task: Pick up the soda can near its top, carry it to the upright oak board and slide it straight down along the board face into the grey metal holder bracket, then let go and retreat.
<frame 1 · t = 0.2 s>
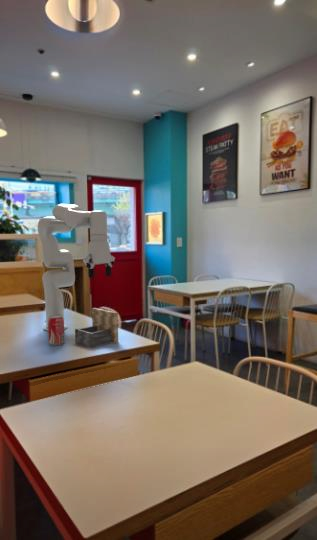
hand: (100, 276, 170), 31 cm above the table, tool pointing down, fingers open, 9 cm apart
soda can: (56, 344, 174), on the table
wall board: (105, 339, 181), on the table
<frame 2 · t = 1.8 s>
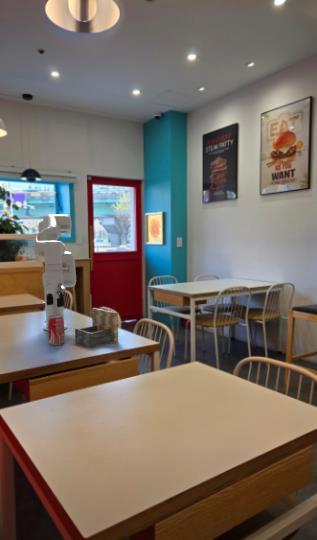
hand: (55, 305, 172), 18 cm above the table, tool pointing down, fingers open, 9 cm apart
nothing on the table moved.
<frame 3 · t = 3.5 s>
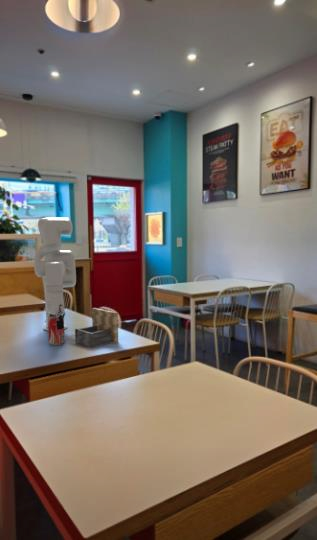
hand: (56, 327, 174), 8 cm above the table, tool pointing down, fingers closed on soda can, 6 cm apart
soda can: (56, 344, 174), on the table, touching gripper
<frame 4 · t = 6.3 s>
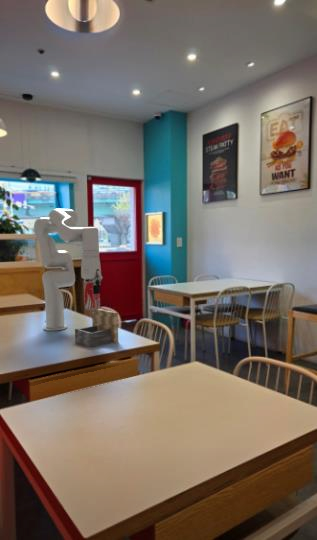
hand: (92, 292, 174), 23 cm above the table, tool pointing down, fingers closed on soda can, 6 cm apart
soda can: (92, 309, 175), point 15 cm above the table, touching gripper
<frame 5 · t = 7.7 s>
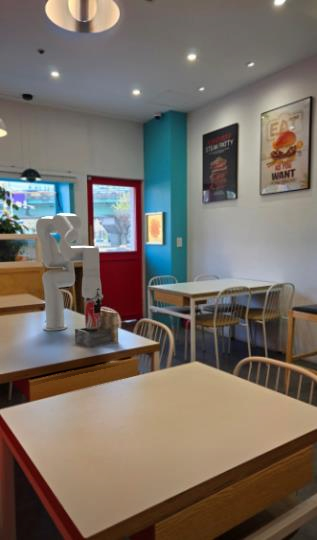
hand: (92, 311, 175), 14 cm above the table, tool pointing down, fingers closed on soda can, 6 cm apart
soda can: (93, 328, 176), point 6 cm above the table, touching gripper
when the fingers open (13 cm above the table, at t = 9.1 s): soda can drops 1 cm, resting on wall board.
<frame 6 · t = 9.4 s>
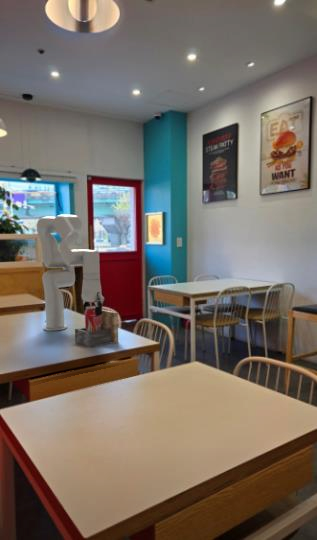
hand: (92, 313, 175), 13 cm above the table, tool pointing down, fingers open, 9 cm apart
soda can: (93, 335, 176), point 3 cm above the table, touching wall board
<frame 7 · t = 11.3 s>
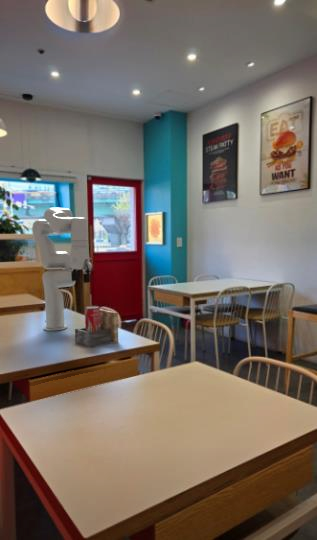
hand: (80, 281, 175), 28 cm above the table, tool pointing down, fingers open, 9 cm apart
nothing on the table moved.
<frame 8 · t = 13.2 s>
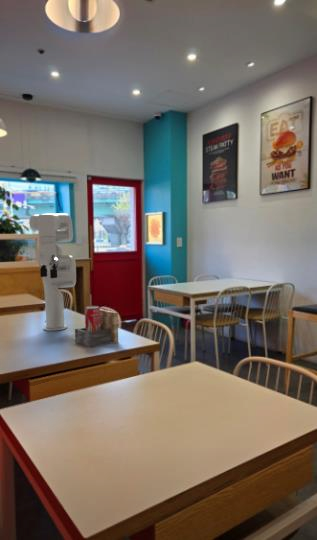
hand: (48, 277, 178), 30 cm above the table, tool pointing down, fingers open, 9 cm apart
nothing on the table moved.
at the end: soda can inside the target area on the wall board (0.6 cm from its centre), point 3.3 cm above the wall board's base; soda can tilted 0°; the gripper is holding nothing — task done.
